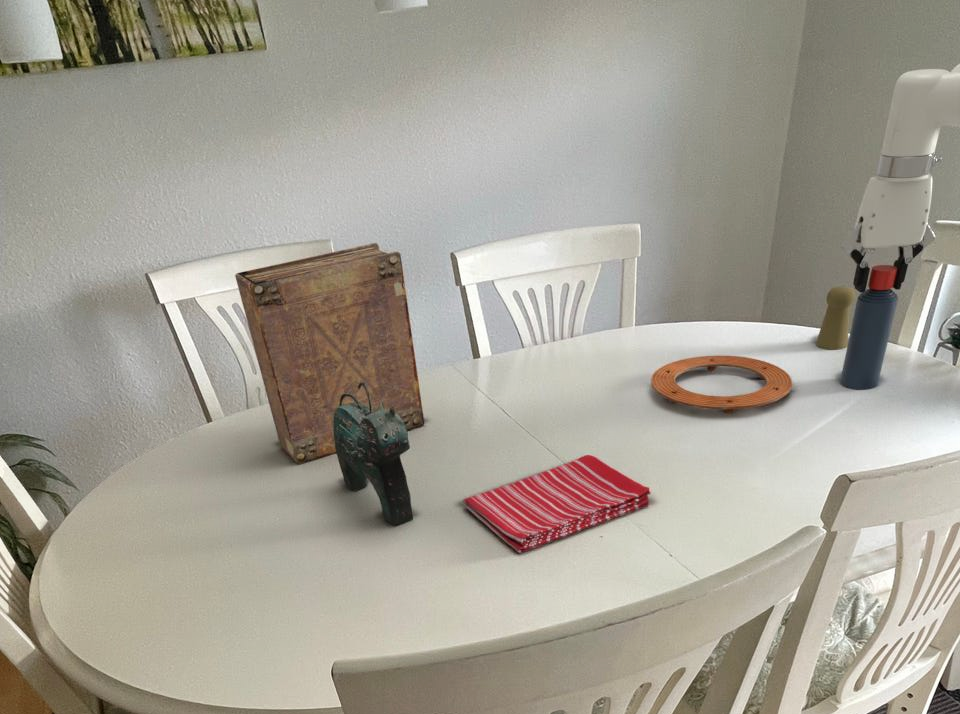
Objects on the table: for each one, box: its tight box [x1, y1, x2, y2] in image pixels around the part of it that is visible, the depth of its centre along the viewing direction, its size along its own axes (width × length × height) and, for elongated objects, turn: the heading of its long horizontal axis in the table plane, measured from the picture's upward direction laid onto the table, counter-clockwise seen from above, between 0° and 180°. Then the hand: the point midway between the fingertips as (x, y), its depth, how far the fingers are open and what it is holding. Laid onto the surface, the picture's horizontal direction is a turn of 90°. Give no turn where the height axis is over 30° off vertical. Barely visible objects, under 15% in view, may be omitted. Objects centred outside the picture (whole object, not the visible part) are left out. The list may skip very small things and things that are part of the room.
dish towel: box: [462, 454, 651, 554], centre depth 117 cm, size 17×24×3 cm
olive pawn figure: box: [815, 285, 856, 350], centre depth 156 cm, size 6×6×11 cm
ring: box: [650, 355, 793, 414], centre depth 146 cm, size 25×25×2 cm
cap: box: [867, 264, 897, 290], centre depth 132 cm, size 4×4×3 cm
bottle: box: [839, 287, 899, 390], centre depth 138 cm, size 6×6×19 cm
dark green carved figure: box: [333, 382, 414, 527], centre depth 117 cm, size 20×6×20 cm, turn 33°
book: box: [234, 242, 425, 465], centre depth 135 cm, size 25×9×30 cm, turn 120°
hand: (877, 287), depth 134 cm, fingers open, 5 cm apart
